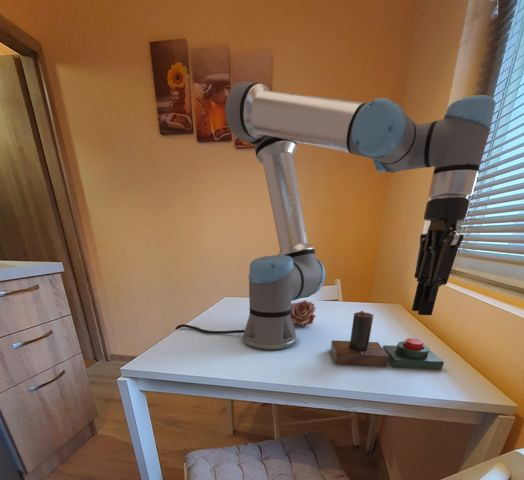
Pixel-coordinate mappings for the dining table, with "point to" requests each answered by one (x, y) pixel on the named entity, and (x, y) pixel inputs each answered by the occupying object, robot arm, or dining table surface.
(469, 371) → the dining table surface
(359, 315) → the dark brown cylinder
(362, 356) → the brown wooden block
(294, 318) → the flower
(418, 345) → the button
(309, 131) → the robot arm
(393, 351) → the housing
